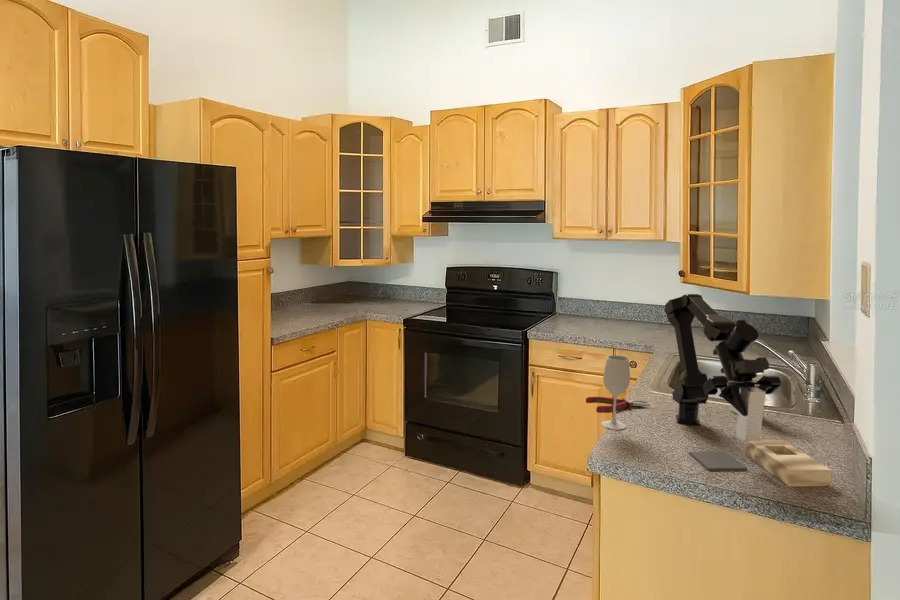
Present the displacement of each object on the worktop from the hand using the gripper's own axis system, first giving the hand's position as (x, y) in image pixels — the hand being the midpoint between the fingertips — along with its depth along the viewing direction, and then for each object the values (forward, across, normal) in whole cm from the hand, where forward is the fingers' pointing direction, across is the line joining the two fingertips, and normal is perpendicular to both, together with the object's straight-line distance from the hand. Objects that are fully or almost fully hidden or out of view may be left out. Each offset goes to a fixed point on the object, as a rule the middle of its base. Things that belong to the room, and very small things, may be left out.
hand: (753, 415), depth 143 cm
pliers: (-21, -17, +42) cm, 50 cm away
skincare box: (-16, +23, +36) cm, 46 cm away
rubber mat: (+8, -7, +11) cm, 15 cm away
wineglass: (-10, -24, +30) cm, 40 cm away
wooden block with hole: (+11, +8, +7) cm, 16 cm away
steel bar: (+4, 0, +6) cm, 7 cm away
